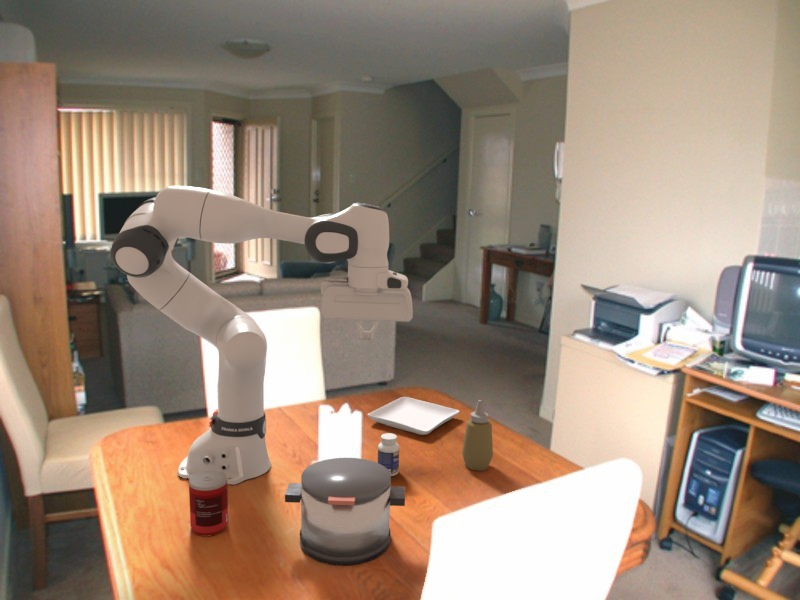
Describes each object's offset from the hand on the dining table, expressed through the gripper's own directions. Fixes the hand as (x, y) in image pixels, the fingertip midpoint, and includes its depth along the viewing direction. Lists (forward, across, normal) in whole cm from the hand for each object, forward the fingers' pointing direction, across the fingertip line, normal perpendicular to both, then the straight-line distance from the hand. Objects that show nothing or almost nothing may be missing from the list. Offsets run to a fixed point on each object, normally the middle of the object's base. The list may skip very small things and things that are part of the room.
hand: (366, 339), depth 146 cm
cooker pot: (+38, -2, -19) cm, 42 cm away
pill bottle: (+38, +5, +12) cm, 40 cm away
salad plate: (+39, +12, +48) cm, 62 cm away
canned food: (+38, -31, -16) cm, 52 cm away
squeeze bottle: (+38, +28, +18) cm, 51 cm away
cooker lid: (+25, -2, -19) cm, 32 cm away
